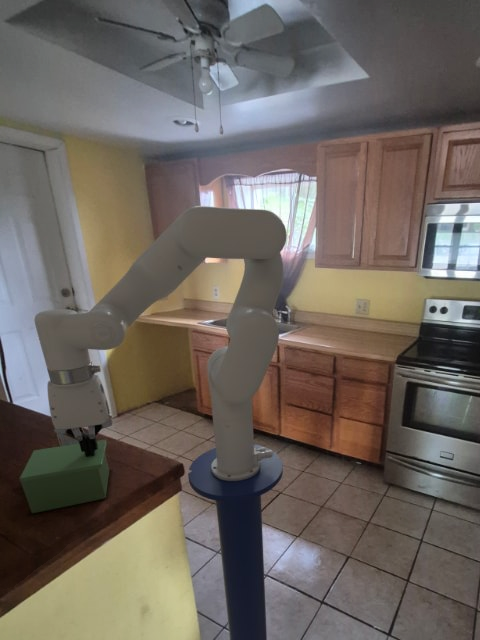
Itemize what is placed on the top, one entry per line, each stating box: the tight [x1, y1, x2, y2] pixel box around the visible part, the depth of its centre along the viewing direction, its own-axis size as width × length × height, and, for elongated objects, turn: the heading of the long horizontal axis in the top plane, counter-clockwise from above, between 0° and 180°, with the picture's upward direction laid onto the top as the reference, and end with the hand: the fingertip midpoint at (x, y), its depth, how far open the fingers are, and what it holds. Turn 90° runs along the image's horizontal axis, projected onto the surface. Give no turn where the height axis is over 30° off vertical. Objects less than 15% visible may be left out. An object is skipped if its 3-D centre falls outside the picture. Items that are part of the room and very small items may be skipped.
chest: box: [20, 453, 110, 514], centre depth 81 cm, size 14×11×8 cm
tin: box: [54, 431, 88, 447], centre depth 92 cm, size 15×3×8 cm, turn 59°
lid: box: [19, 438, 108, 483], centre depth 79 cm, size 14×11×1 cm
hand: (90, 452), depth 81 cm, fingers closed
